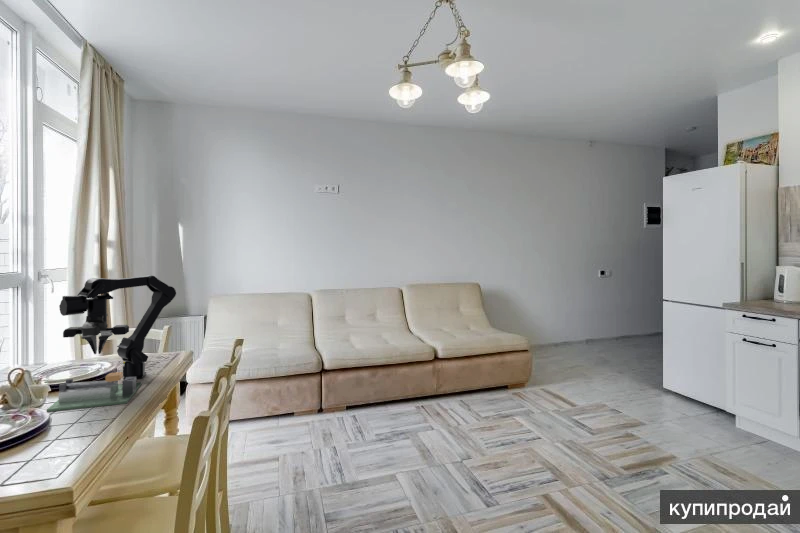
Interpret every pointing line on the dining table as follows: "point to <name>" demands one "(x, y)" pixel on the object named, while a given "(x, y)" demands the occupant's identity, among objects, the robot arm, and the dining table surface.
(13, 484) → the dining table surface
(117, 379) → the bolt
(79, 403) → the green flat square base
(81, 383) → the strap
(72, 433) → the dining table surface
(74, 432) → the dining table surface
